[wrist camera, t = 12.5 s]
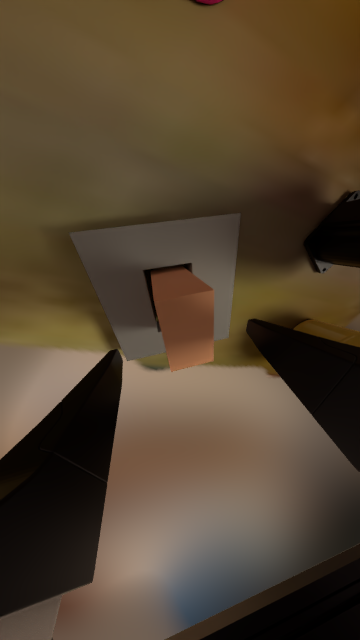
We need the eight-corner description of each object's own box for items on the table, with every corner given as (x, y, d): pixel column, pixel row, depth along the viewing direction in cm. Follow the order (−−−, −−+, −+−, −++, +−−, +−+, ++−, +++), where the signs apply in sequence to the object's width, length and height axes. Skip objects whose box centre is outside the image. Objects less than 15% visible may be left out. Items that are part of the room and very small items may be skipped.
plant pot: (272, 331, 24) (337, 378, 16) (328, 298, 23) (429, 331, 15) (280, 361, 30) (331, 407, 21) (326, 335, 28) (399, 375, 20)
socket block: (226, 216, 14) (242, 212, 12) (220, 327, 21) (229, 338, 19) (82, 233, 12) (67, 232, 10) (129, 348, 20) (127, 362, 17)
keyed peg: (186, 311, 19) (213, 360, 11) (160, 316, 18) (171, 371, 11) (181, 265, 15) (214, 289, 8) (150, 270, 15) (154, 301, 7)
